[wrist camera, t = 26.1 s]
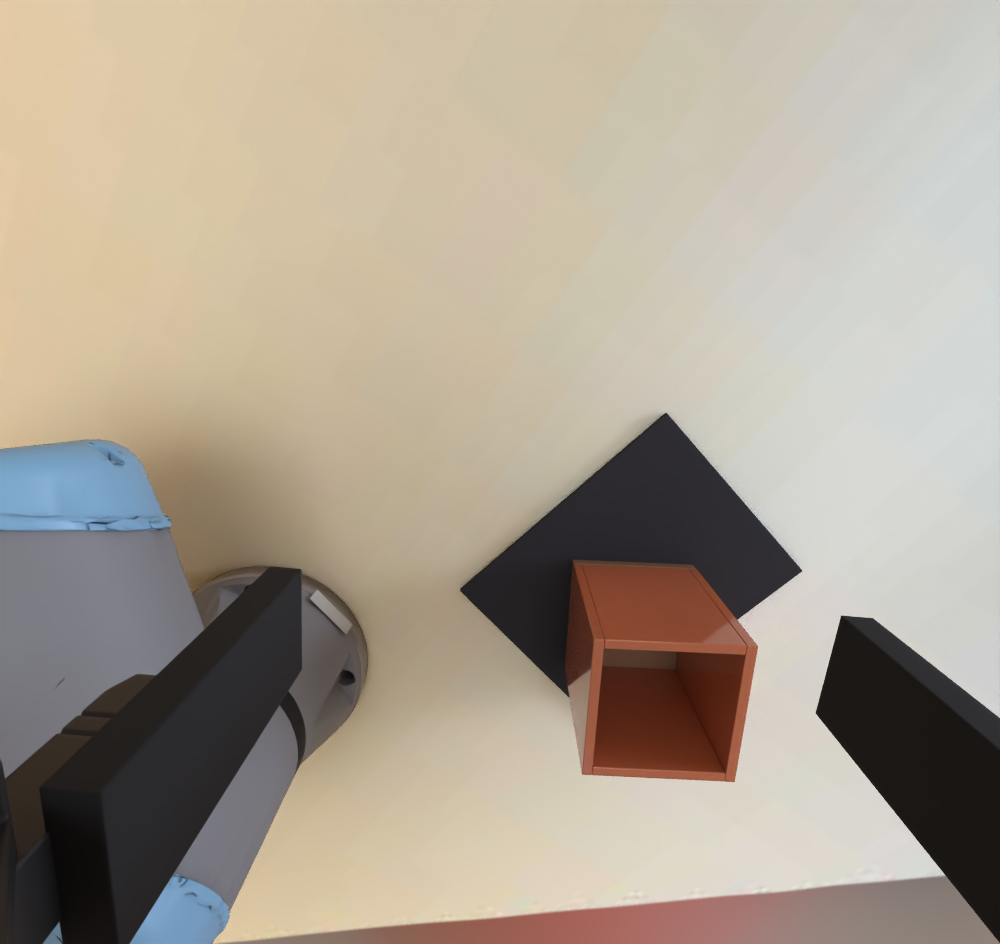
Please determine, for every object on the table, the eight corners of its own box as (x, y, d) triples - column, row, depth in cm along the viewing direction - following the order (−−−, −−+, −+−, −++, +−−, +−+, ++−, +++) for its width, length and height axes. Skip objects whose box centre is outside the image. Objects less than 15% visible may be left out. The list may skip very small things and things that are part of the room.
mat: (596, 721, 44) (596, 725, 44) (460, 588, 42) (460, 591, 41) (800, 568, 41) (802, 571, 40) (665, 412, 38) (667, 413, 38)
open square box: (564, 665, 43) (572, 558, 41) (678, 670, 43) (693, 564, 40) (581, 775, 32) (594, 638, 30) (734, 782, 32) (758, 646, 30)
